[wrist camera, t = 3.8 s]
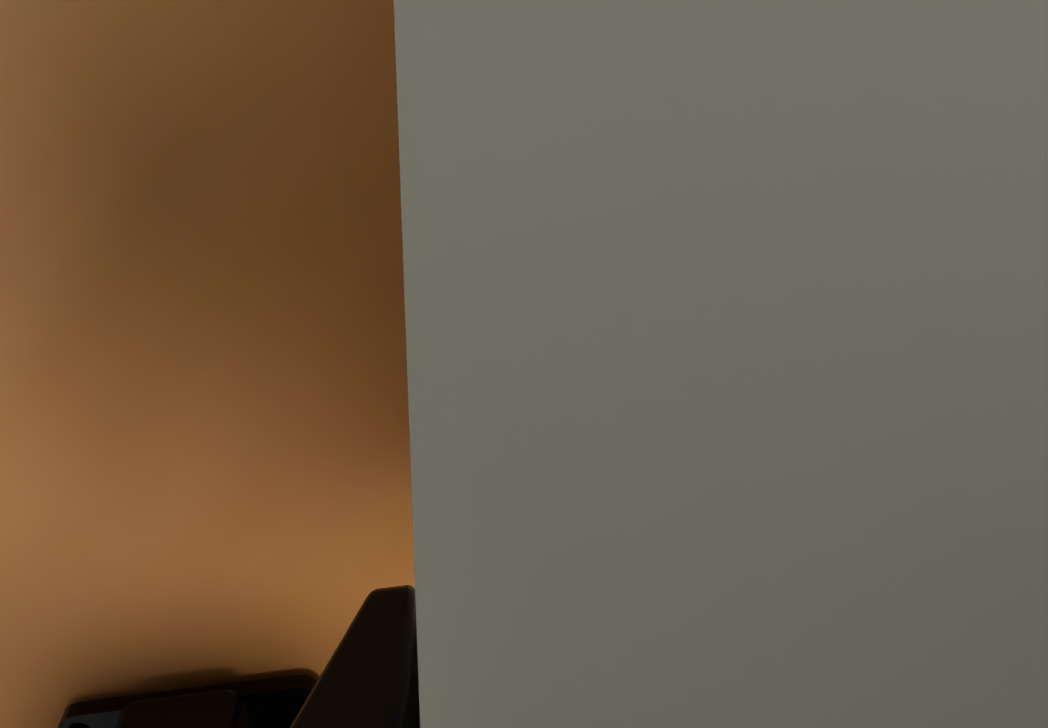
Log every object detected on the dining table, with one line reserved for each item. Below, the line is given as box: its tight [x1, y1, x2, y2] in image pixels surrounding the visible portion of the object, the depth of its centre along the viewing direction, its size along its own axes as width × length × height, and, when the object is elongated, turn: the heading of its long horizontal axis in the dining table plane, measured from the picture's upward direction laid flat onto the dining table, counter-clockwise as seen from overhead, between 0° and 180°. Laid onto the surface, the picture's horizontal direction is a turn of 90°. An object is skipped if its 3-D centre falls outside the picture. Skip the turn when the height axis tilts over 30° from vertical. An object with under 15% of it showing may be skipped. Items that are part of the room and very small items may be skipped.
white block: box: [394, 0, 1048, 728], centre depth 7 cm, size 16×5×5 cm, turn 178°
